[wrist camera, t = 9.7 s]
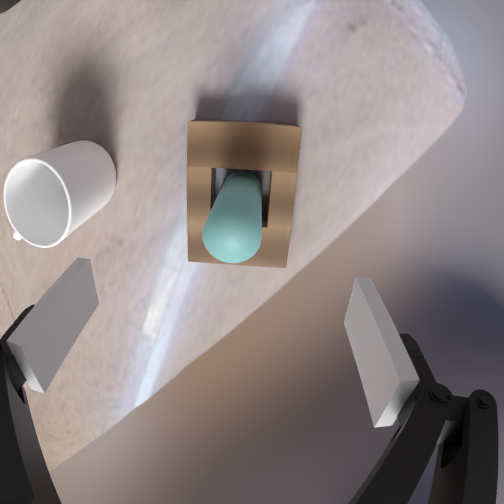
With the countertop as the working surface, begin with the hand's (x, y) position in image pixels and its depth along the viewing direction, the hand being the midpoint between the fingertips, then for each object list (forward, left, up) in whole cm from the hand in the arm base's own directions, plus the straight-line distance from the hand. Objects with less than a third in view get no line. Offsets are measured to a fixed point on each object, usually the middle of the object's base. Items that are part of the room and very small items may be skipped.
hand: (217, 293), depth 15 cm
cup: (0, -19, -19) cm, 27 cm away
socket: (0, 0, -19) cm, 19 cm away
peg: (0, 0, -19) cm, 19 cm away
